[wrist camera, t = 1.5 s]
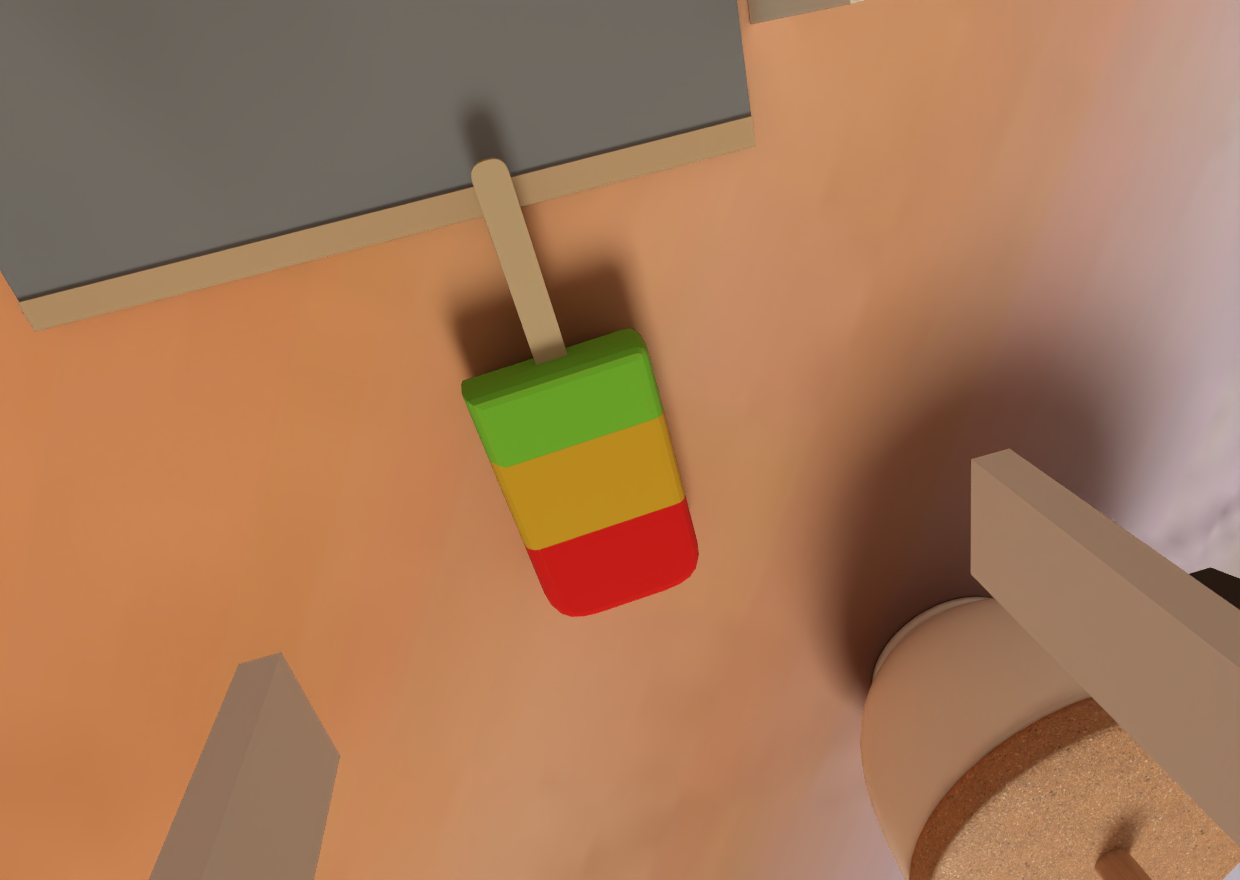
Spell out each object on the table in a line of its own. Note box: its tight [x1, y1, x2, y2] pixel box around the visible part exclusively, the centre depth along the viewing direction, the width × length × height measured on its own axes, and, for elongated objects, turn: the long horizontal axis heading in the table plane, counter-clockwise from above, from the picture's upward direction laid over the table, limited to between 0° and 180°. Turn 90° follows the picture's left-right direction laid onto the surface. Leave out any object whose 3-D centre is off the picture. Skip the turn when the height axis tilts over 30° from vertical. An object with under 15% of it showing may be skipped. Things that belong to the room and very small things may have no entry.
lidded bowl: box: [860, 596, 1240, 880], centre depth 28 cm, size 13×13×11 cm
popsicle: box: [461, 158, 699, 617], centre depth 23 cm, size 6×15×2 cm, turn 15°
